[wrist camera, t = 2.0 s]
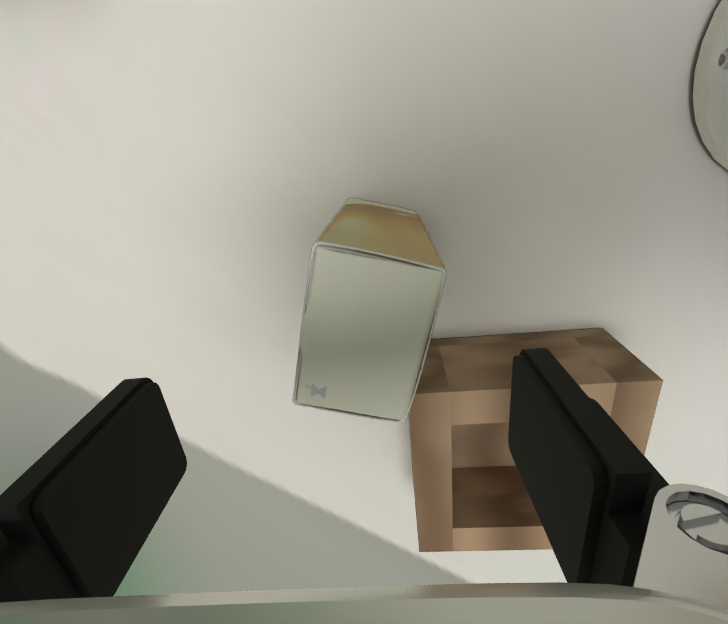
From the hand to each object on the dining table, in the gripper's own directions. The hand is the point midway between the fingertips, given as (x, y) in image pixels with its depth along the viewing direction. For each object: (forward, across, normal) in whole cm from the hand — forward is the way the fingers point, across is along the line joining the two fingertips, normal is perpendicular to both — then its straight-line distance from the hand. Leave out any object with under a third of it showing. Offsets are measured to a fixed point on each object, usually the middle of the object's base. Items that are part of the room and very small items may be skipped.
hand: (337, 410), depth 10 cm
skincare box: (+15, -1, 0) cm, 15 cm away
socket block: (+15, -9, +13) cm, 22 cm away
